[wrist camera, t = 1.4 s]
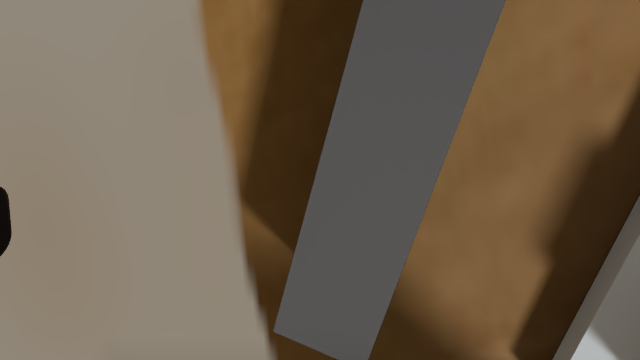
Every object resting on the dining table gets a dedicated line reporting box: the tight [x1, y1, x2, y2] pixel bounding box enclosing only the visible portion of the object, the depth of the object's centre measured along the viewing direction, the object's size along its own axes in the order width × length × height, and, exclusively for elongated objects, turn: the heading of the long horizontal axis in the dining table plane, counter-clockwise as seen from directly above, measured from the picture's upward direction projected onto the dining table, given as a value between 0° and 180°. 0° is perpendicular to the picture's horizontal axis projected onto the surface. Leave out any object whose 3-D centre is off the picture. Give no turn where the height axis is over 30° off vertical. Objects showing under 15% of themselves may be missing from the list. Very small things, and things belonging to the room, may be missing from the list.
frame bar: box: [273, 0, 505, 360], centre depth 17 cm, size 14×3×4 cm, turn 166°
